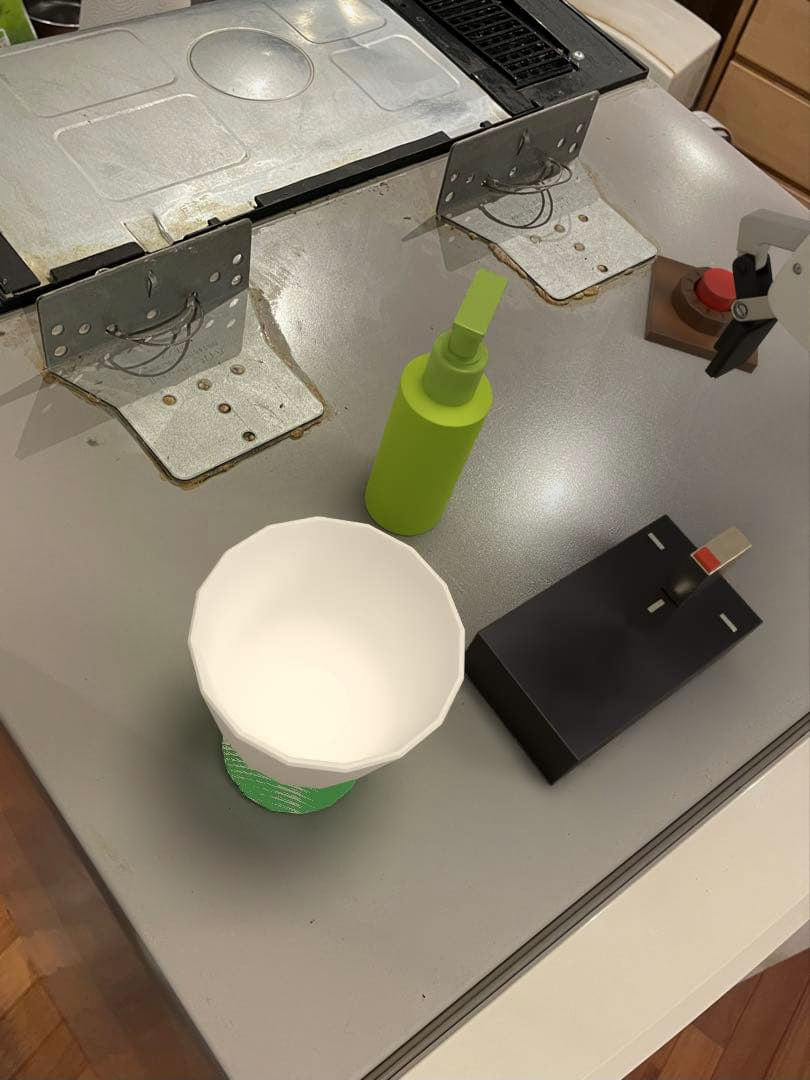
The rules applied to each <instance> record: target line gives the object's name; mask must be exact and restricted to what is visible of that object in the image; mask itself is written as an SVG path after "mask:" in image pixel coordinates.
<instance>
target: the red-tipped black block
mask: <svg viewBox="0 0 810 1080" xmlns="http://www.w3.org/2000/svg"><path fill="white" fill-rule="evenodd" d="M752 547H753V543H752V542H751V541H750V540H749V539H748V538H747V537H746V535H744V533H743V532H742V531H741V530H740V529H739V528H738V527H737V526H736V525H734V524H733V525H732V526H730V527H729V528H728V529H726V530H725V531H723V532H721V533H720V534H718V535H717V536H715V537H714V538H712V539H711V540H709V541H708V542H705V544H703V545H702V546H700V547H699V548H697V550H696V551H694V552H693V553H691V554H690V555H689V556H688V557H687V559H686V560H685V561H684V562H683V563H682V564H681V565H680V566H679V567H678V568H677V569H676V571H675V572H674V573H673V574H672V575H671V576H670V577H669V578H668V579H667V580H666V582H665V583H664V584H663V585H662V586H661V587H662V588H663V589H664V590H665V592H666V593H667V594H668V595H669V596H670V597H671V599H672V600H673V601H674V602H675V603H676V604H677V605H678V606H680V605H682V604H683V603H685V602H686V601H688V600H689V599H690V598H692V597H693V596H695V595H696V594H698V593H699V592H700V591H702V590H703V589H705V588H706V587H708V586H709V585H710V584H712V583H713V582H715V581H716V580H718V579H719V578H721V577H722V576H723V577H724V575H725V574H726V573H727V572H728V571H729V570H731V568H732V567H733V566H734V565H735V564H736V563H737V562H738V561H739V560H740V559H741V558H742V557H743V556H744V555H745V554H746V553H747V552H748V551H749V550H750V549H751V548H752Z"/></svg>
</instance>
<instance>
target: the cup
mask: <svg viewBox="0 0 810 1080" xmlns="http://www.w3.org/2000/svg"><path fill="white" fill-rule="evenodd" d="M460 616H461V615H460V614H459V611H458V609H457V607H456V604H455V601H454V600H453V597H452V594H451V591H450V588H449V587H448V584H447V583H446V582H445V580H444V579H442V578H441V576H440V575H439V574H438V573H437V572H436V571H435V570H434V568H432V567H431V566H430V565H429V564H428V562H427V561H426V560H425V559H424V558H423V557H422V556H421V555H420V554H419V553H418V552H417V550H416V549H415V548H414V547H412V546H410V545H408V544H406V543H405V542H403V541H401V540H399V539H398V538H395V537H393V536H391V535H389V534H388V533H386V532H384V531H382V530H380V529H378V528H376V527H374V526H373V525H371V524H369V523H364V522H359V521H358V522H357V521H352V520H351V521H350V520H345V519H338V518H332V517H325V516H319V515H316V516H311V517H306V518H300V519H293V520H289V521H284V522H278V523H273V524H268V525H266V526H264V527H263V528H261V529H260V530H257V531H256V532H254V533H253V534H250V536H248V537H247V538H245V539H243V540H242V541H239V542H238V543H237V544H235V545H234V546H232V547H230V548H228V549H227V550H225V551H224V553H223V554H222V555H221V557H220V558H219V560H218V561H217V562H216V564H215V565H214V567H212V569H211V571H210V572H209V574H208V575H207V576H206V577H205V579H204V581H203V582H202V584H201V585H200V586H199V588H198V589H197V590H196V593H195V598H194V605H193V611H192V615H191V621H190V626H189V631H188V636H187V645H188V649H189V652H190V657H191V660H192V664H193V668H194V672H195V675H196V679H197V684H198V688H199V691H200V694H201V697H202V698H203V699H204V702H205V704H206V706H207V708H208V710H209V711H210V713H211V715H212V717H213V720H214V721H215V724H216V725H217V727H218V729H219V731H220V733H221V734H222V735H221V736H222V737H223V736H224V737H225V738H226V740H227V741H228V742H229V743H230V745H226V744H222V743H221V744H222V746H224V747H226V746H228V747H230V748H232V747H233V749H234V750H235V751H233V750H226V749H223V753H222V755H223V754H225V753H228V752H230V753H232V754H235V753H237V754H238V755H239V756H240V757H239V756H233V755H231V754H230V753H228V754H230V755H226V754H225V755H224V757H223V760H224V759H226V758H228V759H230V760H227V759H226V764H225V766H226V765H227V768H226V772H227V771H229V775H230V776H229V775H228V776H229V778H230V777H233V779H234V781H233V783H234V782H235V783H236V784H238V786H239V788H240V789H239V788H238V789H239V791H240V792H241V791H243V792H244V794H245V795H244V794H243V795H244V797H245V796H246V797H247V798H246V797H245V798H246V799H248V797H250V798H252V799H254V800H255V801H257V802H258V803H259V804H261V805H262V806H261V805H260V806H261V807H263V806H264V807H266V808H267V809H266V808H265V809H266V810H268V809H269V810H268V811H270V810H271V811H270V812H272V810H274V811H278V812H277V813H279V812H281V811H282V812H294V810H293V811H291V810H292V809H295V810H297V811H299V812H301V813H300V814H302V813H303V815H305V814H304V813H305V812H307V811H308V812H310V813H313V812H312V811H313V810H317V811H320V810H319V809H321V810H324V809H327V808H330V807H331V806H333V805H334V804H335V803H336V802H337V801H339V800H340V799H342V798H343V796H342V795H344V794H345V795H346V794H347V793H349V792H350V791H351V790H352V789H353V788H354V785H355V783H356V782H357V779H360V778H362V777H364V776H366V775H368V774H370V773H372V772H374V771H376V770H378V769H381V768H382V767H384V766H387V765H389V764H391V763H393V762H395V761H397V760H399V759H401V758H403V757H404V756H405V755H406V754H407V753H409V752H410V751H411V750H412V749H413V748H415V747H416V746H417V745H418V744H419V743H421V742H422V741H423V740H424V739H426V738H427V737H428V736H429V735H430V734H432V733H433V732H434V731H435V730H436V729H438V728H439V727H440V726H441V725H443V724H444V723H443V722H444V721H445V718H446V716H447V714H448V713H449V711H450V708H451V706H452V705H453V702H454V700H455V699H456V696H457V694H458V692H459V690H460V688H461V686H462V684H463V682H464V680H465V673H464V653H465V651H466V649H465V648H466V647H465V644H466V629H465V627H464V625H463V621H462V619H461V617H460ZM223 741H224V740H223ZM225 742H226V741H225ZM225 745H226V746H225ZM231 746H232V747H231ZM228 747H227V748H228ZM222 748H223V747H222ZM227 751H228V752H227ZM224 752H225V753H224ZM233 752H234V753H233ZM235 755H236V754H235ZM231 758H232V759H235V760H237V759H239V760H241V761H244V762H245V763H243V762H238V760H237V761H232V759H231ZM236 758H237V759H236ZM228 764H230V765H233V764H235V765H238V764H239V765H238V766H240V765H242V766H245V765H246V766H245V767H247V766H249V767H251V768H253V769H255V770H251V769H247V768H248V767H247V768H242V767H236V766H235V765H233V766H230V765H228ZM231 770H233V771H231ZM236 770H238V771H241V770H242V771H241V772H243V771H245V772H247V773H250V772H251V773H253V774H255V775H258V774H260V775H262V776H265V777H267V778H269V779H271V780H269V779H266V778H262V776H261V777H258V776H260V775H258V776H254V775H253V774H252V775H250V774H251V773H250V774H246V773H244V772H243V773H240V772H237V771H236ZM256 770H257V771H256ZM234 771H236V772H234ZM257 773H258V774H257ZM232 775H233V776H232ZM237 775H238V776H237ZM234 776H236V777H234ZM239 776H240V777H243V778H245V779H242V778H240V777H239ZM237 777H239V778H237ZM247 778H248V779H247ZM249 779H251V780H249ZM252 780H253V781H252ZM256 780H258V781H260V782H263V783H260V782H258V781H256ZM273 780H274V781H273ZM237 782H238V783H237ZM266 782H267V783H269V784H271V785H274V786H278V785H280V786H282V787H285V788H287V789H290V790H293V789H295V790H297V791H295V790H293V791H295V792H298V791H299V792H298V793H300V792H301V793H300V794H301V795H303V796H305V797H307V798H309V799H311V800H309V799H307V798H304V797H302V796H299V795H297V794H294V793H292V792H289V791H286V790H283V789H280V788H277V787H274V786H271V785H269V784H267V783H266ZM235 783H234V784H235ZM239 783H240V784H239ZM264 783H265V784H264ZM236 784H235V785H236ZM245 784H246V785H245ZM288 785H292V786H299V787H301V788H302V789H304V790H306V791H308V792H307V793H306V791H305V792H304V790H303V791H301V790H299V789H296V788H294V787H291V786H288ZM238 786H237V787H238ZM254 786H255V787H254ZM257 787H258V788H257ZM278 787H279V786H278ZM308 787H309V788H308ZM263 788H265V789H267V790H265V789H263ZM291 788H292V789H291ZM310 788H312V789H310ZM242 789H243V790H242ZM313 789H314V790H313ZM268 790H269V791H268ZM273 790H274V791H273ZM315 790H316V791H315ZM349 790H350V791H349ZM250 791H251V792H250ZM271 791H272V792H271ZM275 791H278V792H281V793H283V794H286V793H288V794H286V795H289V794H290V795H289V796H291V795H294V796H296V797H298V798H300V799H301V800H300V799H299V800H300V801H302V802H304V803H306V804H304V803H302V802H299V801H297V800H295V799H292V798H289V797H287V796H284V795H281V794H278V793H277V792H276V793H275ZM317 791H318V792H317ZM284 792H285V793H284ZM309 792H310V793H309ZM260 793H261V794H264V795H261V794H260ZM265 795H266V796H265ZM269 795H270V796H269ZM345 795H344V796H345ZM271 796H273V797H277V798H279V799H282V798H283V799H282V800H284V799H286V800H284V801H287V800H289V801H292V802H294V803H297V804H299V805H300V806H299V807H301V806H302V807H301V808H299V807H297V806H298V805H297V806H294V805H292V804H289V803H286V802H284V801H281V800H278V799H275V798H273V797H271ZM278 796H279V797H278ZM280 797H281V798H280ZM292 797H293V796H292ZM250 798H249V799H248V800H250ZM298 798H297V799H298ZM252 799H251V800H250V801H252ZM258 799H259V800H258ZM338 799H339V800H338ZM261 800H262V801H261ZM312 800H313V801H312ZM289 801H287V802H289ZM272 803H273V804H272ZM278 803H279V804H278ZM290 803H291V802H290ZM333 803H334V804H333ZM259 804H258V805H259ZM275 804H277V805H275ZM280 804H282V805H280ZM307 804H308V805H307ZM278 805H280V806H282V807H280V806H278ZM283 805H284V806H283ZM295 805H296V804H295ZM309 805H310V806H309ZM285 806H286V807H285ZM311 806H312V807H311ZM264 807H263V808H264ZM283 807H285V808H283ZM287 807H289V808H292V809H290V810H289V808H287ZM313 807H314V808H313ZM326 807H327V808H326ZM286 808H287V809H286ZM323 808H324V809H323ZM279 810H280V811H279ZM297 811H296V812H297ZM299 812H298V813H299ZM308 812H307V814H309V813H308Z"/></svg>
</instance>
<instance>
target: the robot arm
mask: <svg viewBox="0 0 810 1080" xmlns="http://www.w3.org/2000/svg"><path fill="white" fill-rule="evenodd" d="M771 247H775V248H779V249H782V250H787V251H789V252H793V253H792V254H791V255H790V257H789V258H788V259H787V261H786V262H785V263H784V264H783V266H782V267H781V268H780V270H779V272H777V274H776V276H775V277H773V269H772V262H771V261H772V260H771V256H770V254H769V250H771ZM736 251H737V254H736V258H735V259H734V260H733V261H732V263H731V271H732V274H733V278H734V285H735V292H736V301H734V302H733V304H732V306H731V312H732V315H733V319H732V320H731V322H730V323H729V324H728V326H727V327H726V329H725V330H724V332H723V333H722V334H721V336H720V337H719V339H718V340H717V342H716V343H715V344H714V346H713V348H714V349H715V350H716V351H717V352H718V353H717V354H716V355H715V357H714V358H713V360H712V361H710V362H709V363H708V365H707V367H705V369H704V372H705V374H706V375H707V376H708V377H709V378H710V379H713V378H714V379H715V380H716V379H718V378H720V377H722V376H724V375H725V374H727V373H729V372H731V371H734V370H735V369H736V368H737V367H739V366H741V365H742V364H744V363H745V362H747V361H748V359H749V358H750V357H751V356H752V354H753V353H754V352H755V350H756V349H757V348H758V349H759V346H761V344H762V342H763V341H764V340H765V338H766V337H767V336H768V334H769V333H770V332H771V331H772V329H773V328H774V326H775V325H776V324H777V323H778V322H779V323H780V324H781V326H782V327H783V328H784V329H785V330H786V331H787V332H788V333H789V334H790V335H791V336H792V337H793V338H794V339H795V340H796V341H797V342H798V343H799V344H800V345H801V346H802V347H803V348H804V349H805V350H806V351H807V352H808V353H809V354H810V220H807V219H804V218H800V217H796V216H792V215H788V214H784V213H780V212H775V211H772V210H768V209H764V208H761V209H757V210H755V211H753V212H751V213H749V214H748V213H747V214H746V215H743V216H742V217H741V219H740V221H739V227H738V234H737V243H736Z"/></svg>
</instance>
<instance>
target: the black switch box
mask: <svg viewBox="0 0 810 1080" xmlns="http://www.w3.org/2000/svg"><path fill="white" fill-rule="evenodd" d="M697 549H698V547H697V546H696V545H695V544H694V543H693V542H692V540H691V539H690V538H689V537H688V535H686V534H685V533H684V532H683V531H682V530H681V528H680V527H679V526H678V525H677V524H676V523H675V521H673V519H671V517H670V516H669V515H668V514H667V513H664V514H663V515H661V516H660V517H658V518H657V519H655V520H654V521H652V522H650V523H648V524H646V525H645V526H644V527H642V528H640V529H639V530H637V531H636V532H634V533H633V534H630V536H628V537H626V538H624V539H623V540H622V541H620V542H618V543H617V544H615V545H614V546H612V547H610V548H609V549H607V550H605V551H604V552H602V553H601V554H600V555H597V556H596V557H595V558H593V559H591V560H589V561H588V562H587V563H585V564H582V566H580V567H579V568H577V569H575V570H574V571H572V572H570V573H569V574H567V575H566V576H564V577H562V578H560V580H558V581H556V582H554V583H553V584H552V585H550V586H548V587H547V588H545V589H543V590H542V591H540V592H539V593H537V594H536V595H534V596H532V597H531V598H529V599H528V600H526V601H524V602H522V603H521V604H520V605H518V606H517V607H515V608H513V609H512V610H510V611H508V612H507V613H505V614H503V615H502V616H501V617H499V618H497V619H496V620H494V621H492V622H491V623H489V624H487V625H486V626H484V627H483V628H481V629H480V630H478V631H477V632H476V634H475V635H474V637H473V638H472V640H471V642H470V643H469V644H468V646H467V648H466V649H465V650H464V675H466V677H467V676H468V677H467V679H469V680H470V682H471V683H472V684H473V686H474V687H475V688H476V690H477V689H478V690H477V691H478V692H479V693H480V695H481V696H482V698H483V699H484V700H485V701H486V703H487V704H488V705H489V707H490V708H491V709H492V711H493V712H494V713H495V715H496V716H497V717H498V718H499V720H500V721H501V722H502V724H503V725H504V726H505V727H506V729H507V730H508V731H509V733H510V735H512V737H513V738H514V740H515V741H516V742H517V743H518V745H519V746H520V747H521V748H522V750H523V751H524V753H526V755H527V756H528V757H529V759H530V760H531V762H532V763H533V764H534V765H535V767H536V768H537V769H538V770H539V773H541V775H542V777H543V778H544V779H545V780H546V781H547V783H548V784H549V785H550V786H553V785H554V784H556V783H558V781H561V780H562V778H564V777H565V776H567V775H568V774H569V773H570V772H572V771H573V770H575V769H576V768H577V767H579V766H580V765H581V764H582V763H584V762H585V761H586V760H588V759H589V758H591V757H592V756H593V755H594V754H596V753H597V752H599V751H600V750H601V749H602V748H604V747H605V746H607V744H608V743H610V742H612V741H613V740H614V739H616V738H617V737H618V736H620V735H621V734H622V733H624V732H625V731H626V730H628V729H629V728H630V727H632V726H633V725H634V724H635V723H637V722H638V721H640V720H641V719H642V718H644V717H645V716H646V715H647V714H649V713H650V712H651V711H653V710H654V709H655V708H657V707H658V706H659V705H661V704H662V703H664V702H665V701H666V700H667V699H669V698H670V697H671V696H672V695H674V694H675V693H677V692H678V691H679V690H680V689H682V688H683V687H684V686H686V685H687V684H689V683H690V682H691V681H692V680H694V679H695V678H696V677H697V676H699V675H700V674H702V673H703V672H704V671H706V670H707V669H708V668H709V667H711V666H712V665H713V664H715V663H717V661H719V660H720V659H721V658H723V657H725V655H727V654H728V653H729V652H731V650H733V649H734V648H735V647H737V646H738V645H739V644H740V643H741V642H742V641H744V640H745V639H746V638H747V637H749V635H750V634H752V633H753V632H754V631H755V630H756V629H758V628H759V627H760V626H761V625H762V624H763V623H764V621H763V619H762V618H761V617H760V616H759V614H757V613H756V612H755V610H754V609H753V608H752V607H751V606H750V605H749V604H748V602H746V601H745V600H744V599H743V597H742V596H741V594H739V592H737V591H736V589H735V588H734V587H733V586H732V585H731V584H730V583H729V582H728V580H726V578H725V577H724V575H723V576H722V577H721V578H719V579H718V580H716V581H715V582H713V583H712V584H710V585H709V586H708V587H706V588H705V589H703V590H702V591H700V592H699V593H698V594H696V595H695V596H693V597H692V598H690V599H689V600H688V601H686V602H685V603H683V604H682V605H680V606H678V605H677V604H676V603H675V602H674V601H673V600H672V599H671V597H670V596H669V595H668V594H667V593H666V592H665V590H664V589H663V588H662V587H661V586H662V585H663V584H664V583H665V582H666V580H667V579H668V578H669V577H670V576H671V575H672V574H673V573H674V572H675V571H676V569H677V568H678V567H679V566H680V565H681V564H682V563H683V562H684V561H685V560H686V559H687V557H688V556H689V555H690V554H691V553H693V552H694V551H696V550H697Z"/></svg>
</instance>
